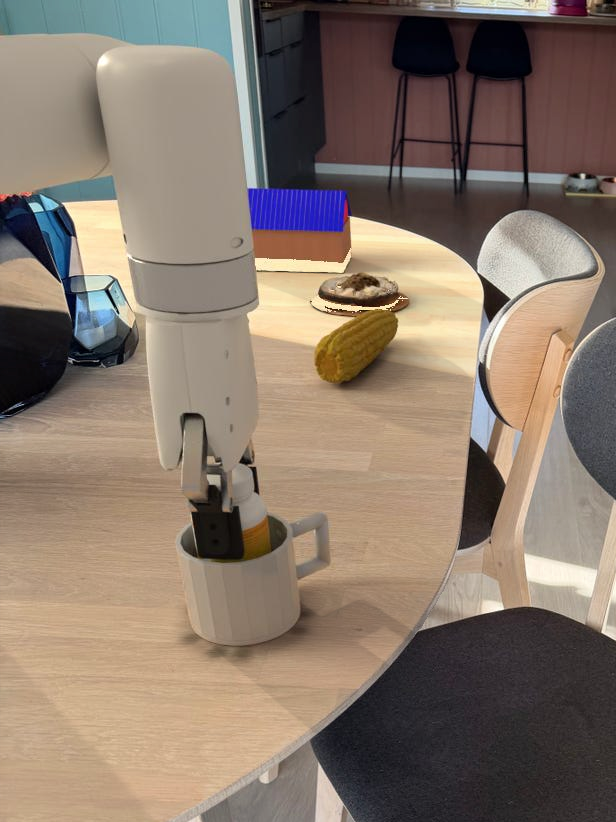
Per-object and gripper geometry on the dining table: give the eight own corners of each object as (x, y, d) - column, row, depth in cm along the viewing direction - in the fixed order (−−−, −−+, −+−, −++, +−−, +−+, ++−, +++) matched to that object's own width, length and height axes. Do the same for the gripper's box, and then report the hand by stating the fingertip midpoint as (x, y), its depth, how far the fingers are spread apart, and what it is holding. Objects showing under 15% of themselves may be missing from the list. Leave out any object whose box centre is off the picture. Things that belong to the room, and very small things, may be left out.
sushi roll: (299, 313, 136) (297, 284, 134) (322, 286, 148) (320, 259, 146) (399, 318, 135) (398, 288, 133) (414, 290, 148) (413, 263, 145)
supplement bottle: (290, 585, 72) (278, 470, 66) (239, 616, 68) (221, 497, 62) (240, 563, 74) (225, 450, 69) (188, 592, 71) (167, 476, 65)
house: (241, 253, 164) (232, 180, 158) (354, 256, 165) (350, 184, 158) (225, 270, 155) (215, 194, 148) (345, 274, 155) (341, 198, 148)
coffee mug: (229, 660, 68) (216, 578, 64) (169, 613, 72) (153, 534, 68) (363, 596, 75) (358, 519, 71) (300, 557, 80) (293, 483, 76)
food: (353, 393, 111) (350, 343, 108) (309, 388, 112) (304, 338, 109) (406, 339, 128) (405, 295, 124) (367, 335, 129) (365, 291, 125)
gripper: (171, 246, 65) (207, 482, 75) (88, 321, 51) (146, 598, 61) (279, 249, 65) (300, 485, 75) (225, 325, 51) (260, 601, 62)
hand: (231, 533), depth 68 cm, fingers closed on supplement bottle, 5 cm apart
